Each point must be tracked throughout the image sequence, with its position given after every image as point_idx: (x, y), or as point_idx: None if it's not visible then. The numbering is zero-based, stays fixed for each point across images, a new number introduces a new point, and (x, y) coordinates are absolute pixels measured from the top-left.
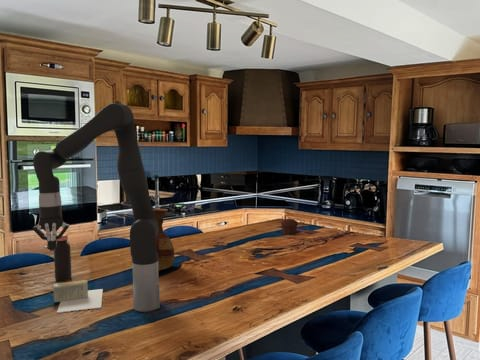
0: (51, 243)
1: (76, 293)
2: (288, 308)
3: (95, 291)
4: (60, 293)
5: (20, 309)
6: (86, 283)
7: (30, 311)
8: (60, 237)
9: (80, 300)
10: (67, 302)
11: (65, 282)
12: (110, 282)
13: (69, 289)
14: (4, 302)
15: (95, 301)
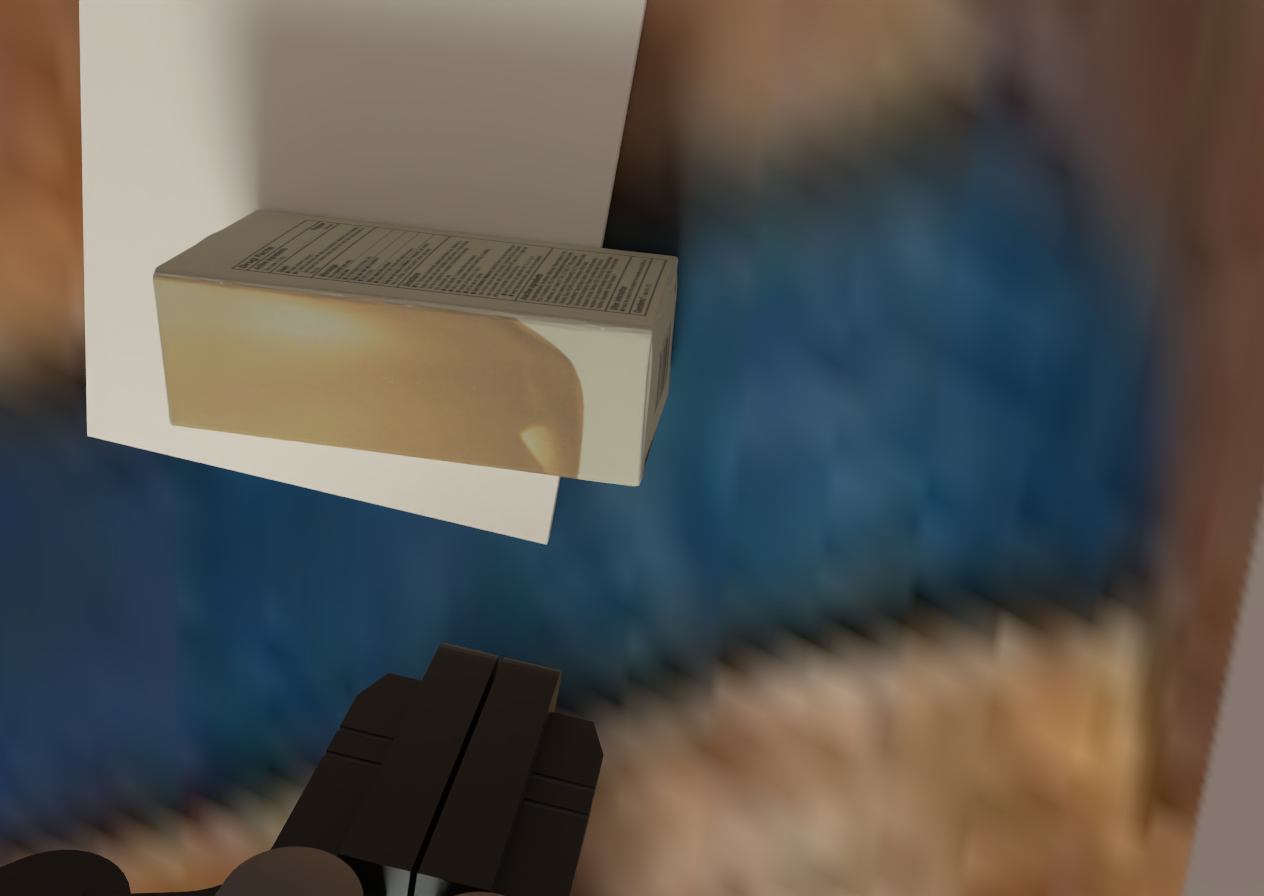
0: (444, 804)
1: (370, 242)
2: None
3: None
4: (576, 276)
5: (1106, 266)
6: (170, 264)
7: (999, 117)
8: (1, 879)
9: (352, 155)
10: (517, 169)
11: (471, 451)
12: (18, 632)
13: (439, 275)
14: (1239, 618)
15: (159, 5)
